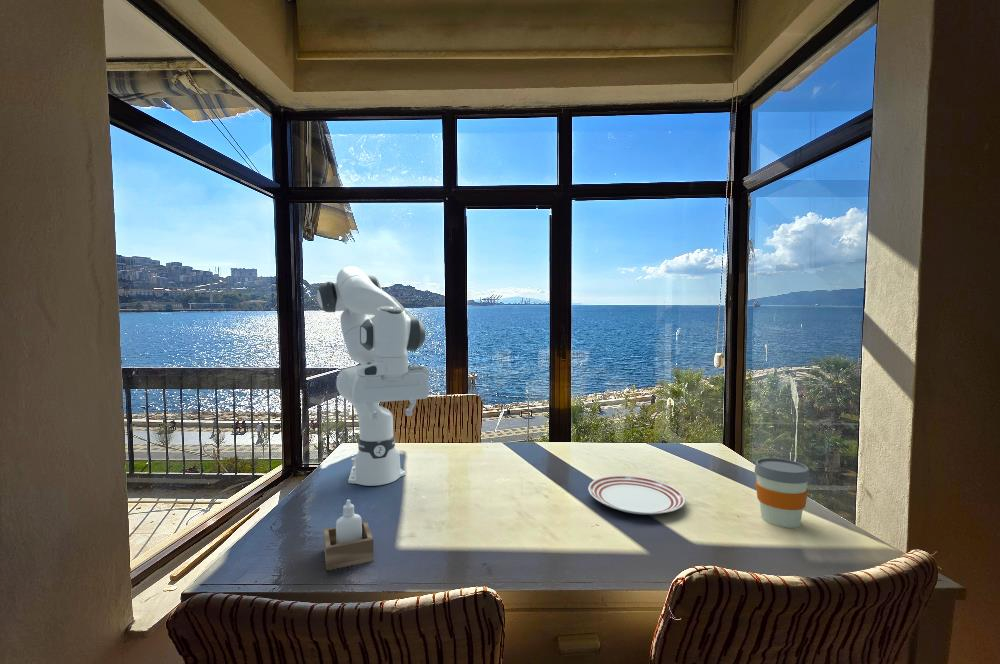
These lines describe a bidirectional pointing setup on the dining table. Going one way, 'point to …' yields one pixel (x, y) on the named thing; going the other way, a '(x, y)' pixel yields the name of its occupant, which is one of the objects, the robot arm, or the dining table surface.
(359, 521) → the eye dropper bottle
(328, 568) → the small open wooden box
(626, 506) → the dinner plate
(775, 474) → the reusable coffee cup
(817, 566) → the dining table surface
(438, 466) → the dining table surface
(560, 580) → the dining table surface
